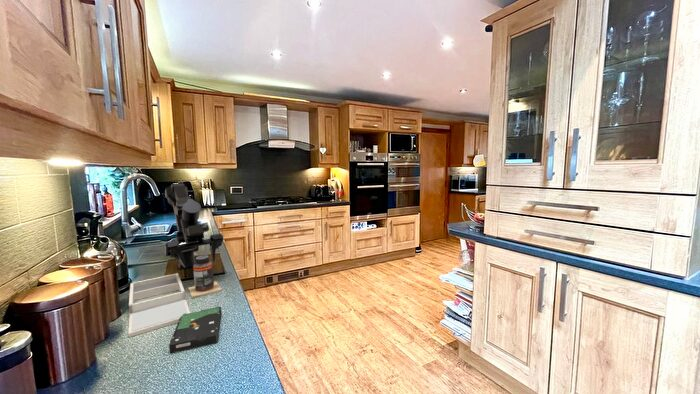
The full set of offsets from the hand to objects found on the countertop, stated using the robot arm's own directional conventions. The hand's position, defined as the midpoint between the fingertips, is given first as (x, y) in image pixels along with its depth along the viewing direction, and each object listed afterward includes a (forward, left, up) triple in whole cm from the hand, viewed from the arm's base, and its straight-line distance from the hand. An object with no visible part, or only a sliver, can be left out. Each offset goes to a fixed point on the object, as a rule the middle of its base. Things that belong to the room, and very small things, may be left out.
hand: (200, 264), depth 99 cm
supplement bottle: (+4, 0, -8) cm, 9 cm away
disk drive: (+31, -6, -9) cm, 32 cm away
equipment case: (+6, -13, -8) cm, 17 cm away
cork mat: (+4, 0, -8) cm, 9 cm away
